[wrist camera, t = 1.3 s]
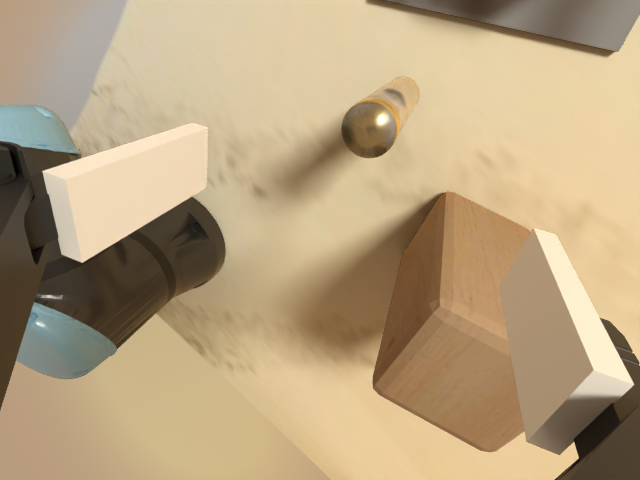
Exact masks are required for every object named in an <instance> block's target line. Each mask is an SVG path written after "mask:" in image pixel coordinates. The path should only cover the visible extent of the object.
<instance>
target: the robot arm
mask: <svg viewBox="0 0 640 480" xmlns="http://www.w3.org/2000/svg"><path fill="white" fill-rule="evenodd" d="M207 151H208V127H204V126H201V125H198V124H195V123H190V124H187V125H183V126H180V127H177V128H174V129H171V130H168V131H165V132H162V133H159V134H156V135H152V136H149V137H146V138H143V139H140V140H137V141H134V142H131V143H128V144H125V145H122V146H118V147H115V148H112V149H109V150H106V151H103V152H100V153H97V154H94V155H91V156H87V157H84V158H81V156H80V155H82V152H81V151H80V150H79V149H77V147H76V145H75V144H74V142H73V140H72V138H71V136H70V134H69V132H68V130H67V129H66V127H65V125H64V123H63V121H62V120H61V118H60V117H59V116H58V115H57V114H56V113H54V112H53V111H51V110H49V109H47V108H44V107H41V106H35V105H0V409H1V406H2V403H3V400H4V396H5V393H6V390H7V387H8V384H9V381H10V377H11V374H12V371H13V368H14V365H15V361H18V362H20V363H22V364H23V365H25V366H27V367H29V368H31V369H33V370H35V371H37V372H39V373H42V374H45V375H47V376H51V377H54V378H59V379H74V378H78V377H81V376H84V375H86V374H87V373H89V372H90V371H92V370H93V369H94V368H95V367H97V366H98V365H99V364H100V363H102V362H103V361H104V360H105V359H107V358H108V357H109V356H112V355H113V354H115V352H116V351H117V349H118V348H119V347H120V346H121V345H122V344H123V343H124V342H125V341H126V340H127V339H129V338H130V337H131V336H132V335H133V334H134V333H135V332H136V331H137V330H138V329H139V328H140V327H141V326H143V325H144V324H145V323H146V322H147V321H148V320H149V319H150V318H151V317H152V316H153V315H154V314H155V313H157V312H158V311H159V310H160V309H161V308H162V307H163V306H164V305H165V304H166V303H167V302H168V301H170V300H171V299H172V298H173V297H175V296H177V295H179V294H181V293H184V292H186V291H188V290H190V289H193V288H197V287H199V286H202V285H204V284H205V283H207V282H208V281H209V280H211V279H212V278H213V277H214V276H215V275H216V274H217V273H218V272H219V270H220V269H221V267H222V265H223V263H224V259H225V243H224V239H223V235H222V233H221V230H220V228H219V226H218V224H217V222H216V221H215V219H214V218H213V216H212V215H211V214H210V213H209V211H208V210H207V209H206V208H205V207H204V206H203V205H202V204H201V203H200V202H198V201H197V200H196V199H194V198H193V197H192V196H193V195H195V194H197V193H198V192H200V191H202V190H203V189H205V188H206V186H207ZM498 287H499V293H500V298H501V304H502V309H503V315H504V320H505V326H506V331H507V337H508V342H509V348H510V353H511V359H512V364H513V370H514V375H515V381H516V386H517V392H518V397H519V403H520V408H521V414H522V419H523V425H524V430H525V436H526V441H527V442H528V443H531V444H533V445H536V446H538V447H541V448H543V449H546V450H548V451H551V452H553V453H556V454H558V455H560V454H561V453H562V452H563V451H564V450H565V449H566V448H567V447H568V446H570V445H571V444H572V443H573V442H575V446H576V449H577V452H578V456H579V459H578V460H576V461H575V462H574V463H573V464H572V465H571V466H570V467H569V468H567V469H566V470H565V471H564V472H563V473H562V474H561V475H559V476H558V477H557V478H556V479H555V480H640V366H639V364H640V363H639V361H638V359H637V358H636V356H635V354H633V353H632V349H631V347H630V345H629V344H628V342H627V340H626V339H625V337H624V336H623V335H622V334H621V333H620V332H619V331H618V330H617V328H616V327H615V326H614V325H613V324H612V323H611V322H610V321H607V320H604V319H601V318H599V316H598V314H597V312H596V310H595V308H594V307H593V305H592V303H591V301H590V299H589V297H588V295H587V293H586V291H585V289H584V287H583V286H582V284H581V282H580V280H579V278H578V276H577V274H576V272H575V270H574V268H573V266H572V265H571V263H570V261H569V259H568V257H567V255H566V253H565V251H564V249H563V247H562V245H561V244H560V242H559V240H558V238H557V236H556V235H555V234H552V233H549V232H545V231H542V230H539V229H536V228H533V229H532V231H531V233H530V234H529V236H528V238H527V240H526V241H525V243H524V245H523V246H522V248H521V250H520V251H519V253H518V255H517V256H516V258H515V260H514V261H513V263H512V265H511V266H510V268H509V270H508V271H507V273H506V275H505V276H504V278H503V280H502V281H501V283H500V285H499V286H498Z"/></svg>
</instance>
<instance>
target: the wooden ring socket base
mask: <svg viewBox="0 0 640 480" xmlns="http://www.w3.org/2000/svg"><path fill="white" fill-rule="evenodd" d="M385 1H390V2H394V3H399V4H403V5H408V6H412V7H417V8H421V9H426V10H430V11H435V12H439V13H444V14H448V15H453V16H457V17H462V18H466V19H471V20H475V21H480V22H484V23H489V24H493V25H498V26H502V27H507V28H511V29H516V30H520V31H525V32H529V33H534V34H538V35H543V36H548V37H552V38H557V39H561V40H566V41H570V42H575V43H579V44H584V45H588V46H593V47H597V48H602V49H606V50H611V51H615V52H618V51H619V50H620V48H621V46H622V44H623V43H624V41H625V39H626V37H627V36H628V34H629V32H630V30H631V29H632V27H633V25H634V23H635V22H636V20H637V18H638V16H639V15H640V0H385Z"/></svg>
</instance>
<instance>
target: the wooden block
mask: <svg viewBox="0 0 640 480" xmlns="http://www.w3.org/2000/svg"><path fill="white" fill-rule="evenodd" d="M530 233H531V232H530V231H529V230H528V229H527V228H525V227H523V226H521V225H519V224H517V223H515V222H512V221H510V220H508V219H506V218H504V217H502V216H500V215H498V214H496V213H494V212H492V211H490V210H488V209H486V208H484V207H482V206H480V205H478V204H476V203H474V202H472V201H470V200H468V199H466V198H464V197H462V196H460V195H458V194H456V193H452V192H445V193H444V194H443V195H441V196H440V197H439V199H438V200H437V202H436V203H435V205H434V206H433V208H432V209H431V211H430V213H429V214H428V216H427V217H426V219H425V220H424V222H423V223H422V225H421V227H420V228H419V230H418V231H417V233H416V234H415V236H414V237H413V239H412V240H411V242H410V244H409V245H408V247H407V248H406V250H405V251H404V253H403V255H402V259H401V264H400V268H399V272H398V276H397V280H396V284H395V288H394V292H393V296H392V300H391V304H390V308H389V313H388V317H387V321H386V325H385V329H384V333H383V337H382V341H381V345H380V349H379V353H378V357H377V362H376V366H375V370H374V374H373V389H374V390H375V391H376V392H377V393H378V394H379V395H380V396H382V397H384V398H386V399H388V400H389V401H391V402H393V403H395V404H397V405H398V406H400V407H402V408H404V409H406V410H408V411H409V412H411V413H413V414H415V415H417V416H418V417H420V418H422V419H424V420H426V421H428V422H429V423H431V424H433V425H435V426H437V427H438V428H440V429H442V430H444V431H446V432H448V433H449V434H451V435H453V436H455V437H457V438H459V439H460V440H462V441H464V442H466V443H468V444H469V445H471V446H473V447H475V448H477V449H479V450H480V451H485V452H494V451H497V450H498V449H500V448H501V447H503V446H504V445H505V444H507V443H508V442H510V441H511V440H513V439H514V438H515V437H517V436H518V435H520V434H521V433H523V432H524V431H525V430H524V425H523V419H522V414H521V408H520V403H519V397H518V392H517V386H516V381H515V375H514V370H513V364H512V359H511V353H510V348H509V342H508V337H507V331H506V326H505V320H504V315H503V309H502V304H501V298H500V293H499V287H498V286H499V285H500V283H501V281H502V280H503V278H504V276H505V275H506V273H507V271H508V270H509V268H510V266H511V265H512V263H513V261H514V260H515V258H516V256H517V255H518V253H519V251H520V250H521V248H522V246H523V245H524V243H525V241H526V240H527V238H528V236H529V234H530Z"/></svg>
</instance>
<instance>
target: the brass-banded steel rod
mask: <svg viewBox="0 0 640 480" xmlns="http://www.w3.org/2000/svg"><path fill="white" fill-rule="evenodd" d="M418 99H419V88H418V85H417V84H416V82H415V81H414V80H412V79H411V78H408V77H399V78H396V79H394V80H393V81H391V82H390V83H388V84H387V85H385V86H384V87H382V88H381V89H380V90H378V91H377V92H375V93H374V94H372V95H371V96H369V97H368V98H366V99H364V100H362V101H360V102H359V103H357V104H356V105H354V106H353V107H352V108H351V109H350V110H349V111H348V112H347V113H346V115H345V117H344V119H343V122H342V136H343V140H344V142H345V144H346V146H347V147H348V148H349V149H350V150H351V151H352V152H353V153H354V154H356V155H358V156H360V157H364V158H375V157H379V156H381V155H383V154H384V153H386V152H387V151H388V150H389V149H390V148H391V147H392V145H393V143H394V142H395V140H396V138H397V136H398V134H399V132H400V130H401V129H402V127H403V125H404V124H405V122H406V120H407V119H408V117H409V115H410V114H411V112H412V110H413V109H414V107H415V105H416V104H417V102H418Z"/></svg>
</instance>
